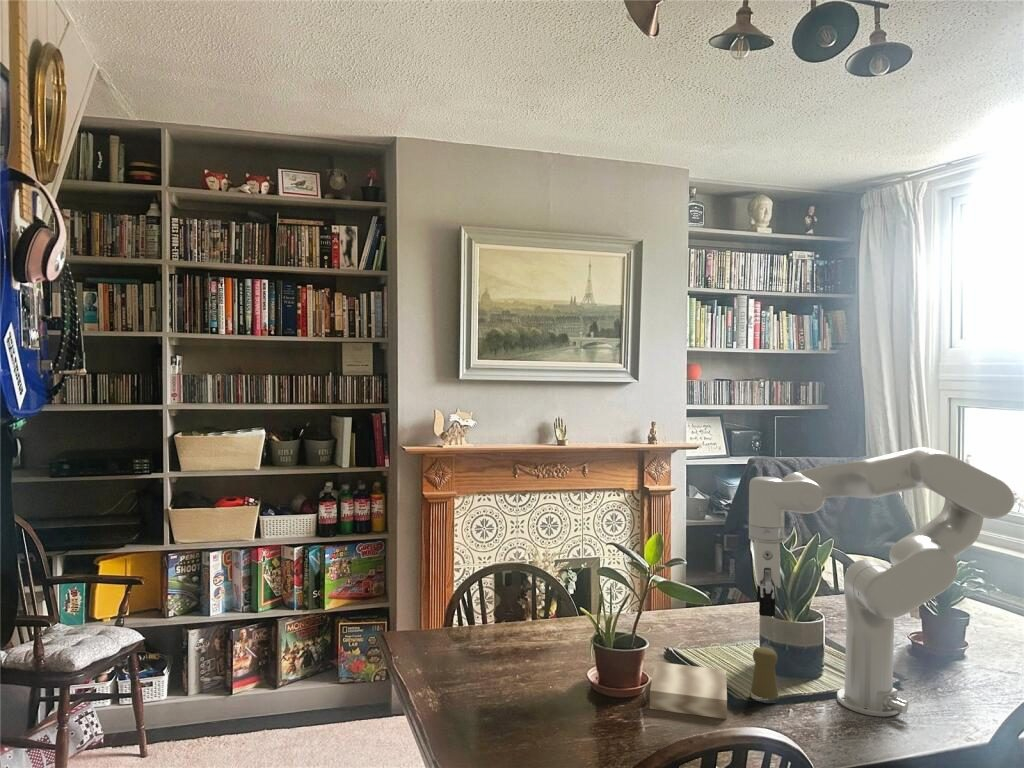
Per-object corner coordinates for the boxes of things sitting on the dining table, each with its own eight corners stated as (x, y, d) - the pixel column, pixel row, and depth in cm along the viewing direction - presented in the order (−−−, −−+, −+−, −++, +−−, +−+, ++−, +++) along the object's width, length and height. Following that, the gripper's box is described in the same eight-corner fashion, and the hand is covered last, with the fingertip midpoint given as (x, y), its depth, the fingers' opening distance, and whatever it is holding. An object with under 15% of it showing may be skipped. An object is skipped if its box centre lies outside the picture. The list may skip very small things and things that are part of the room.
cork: (780, 705, 160) (781, 655, 160) (751, 702, 161) (752, 653, 161) (776, 693, 166) (777, 645, 166) (748, 690, 167) (749, 643, 167)
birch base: (725, 687, 169) (726, 670, 169) (726, 719, 153) (727, 700, 153) (655, 678, 173) (655, 661, 173) (649, 708, 158) (649, 690, 157)
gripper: (787, 542, 153) (786, 623, 154) (781, 525, 170) (780, 598, 170) (750, 540, 155) (749, 619, 156) (747, 523, 172) (746, 595, 172)
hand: (765, 608), depth 163 cm, fingers open, 9 cm apart
